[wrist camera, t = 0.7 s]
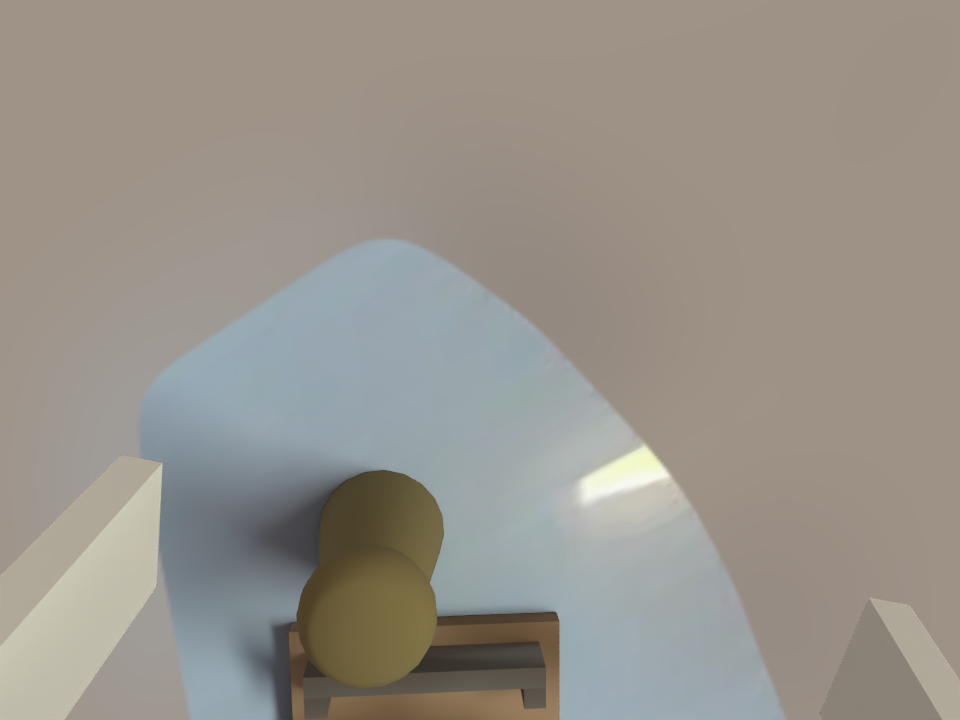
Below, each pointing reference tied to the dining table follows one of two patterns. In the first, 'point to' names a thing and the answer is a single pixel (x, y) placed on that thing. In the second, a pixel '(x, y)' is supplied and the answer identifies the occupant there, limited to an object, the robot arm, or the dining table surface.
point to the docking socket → (449, 675)
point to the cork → (372, 581)
